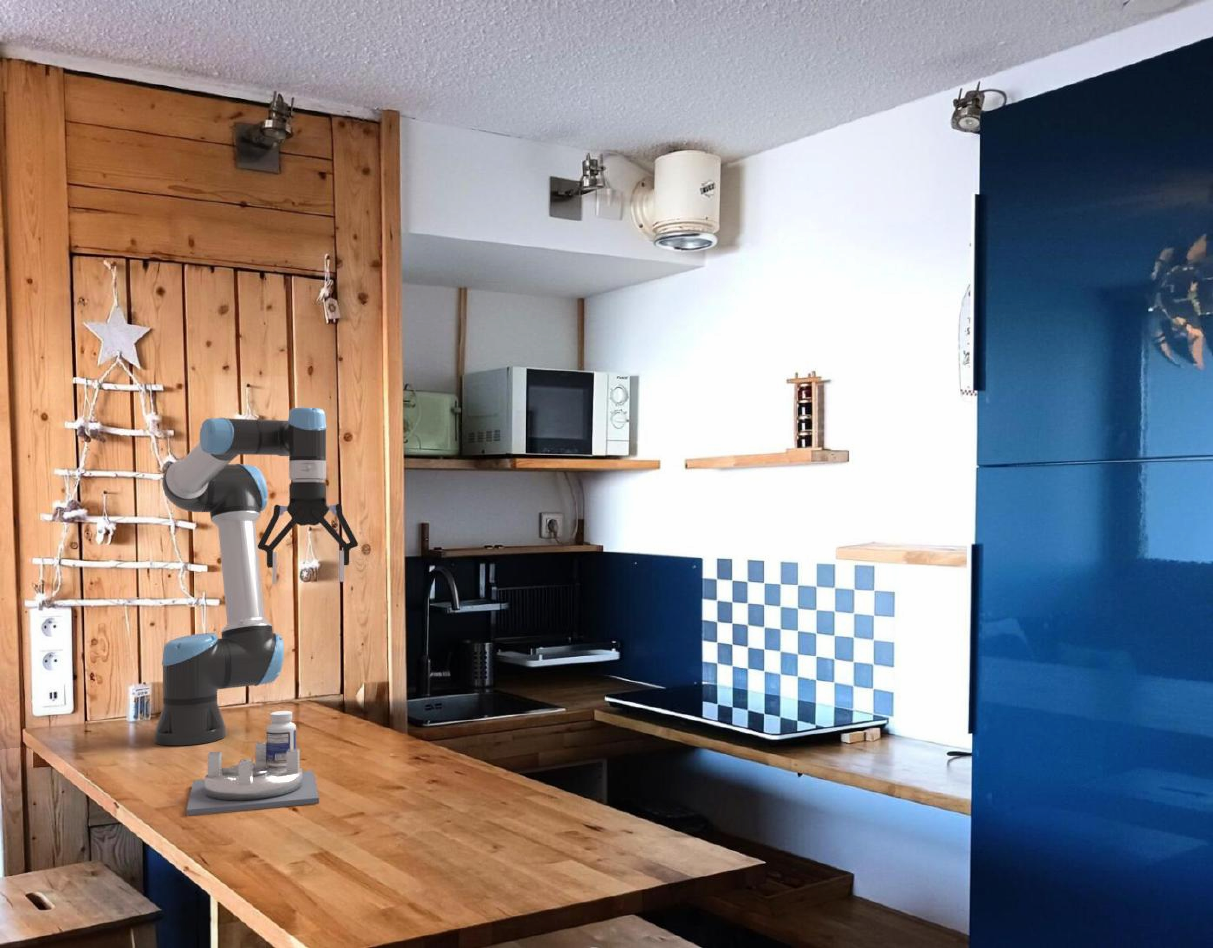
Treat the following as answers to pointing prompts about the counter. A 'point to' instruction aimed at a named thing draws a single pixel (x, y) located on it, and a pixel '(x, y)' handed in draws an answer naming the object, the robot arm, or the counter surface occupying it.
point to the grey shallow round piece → (252, 776)
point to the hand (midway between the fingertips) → (308, 582)
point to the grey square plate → (208, 805)
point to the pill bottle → (280, 738)
